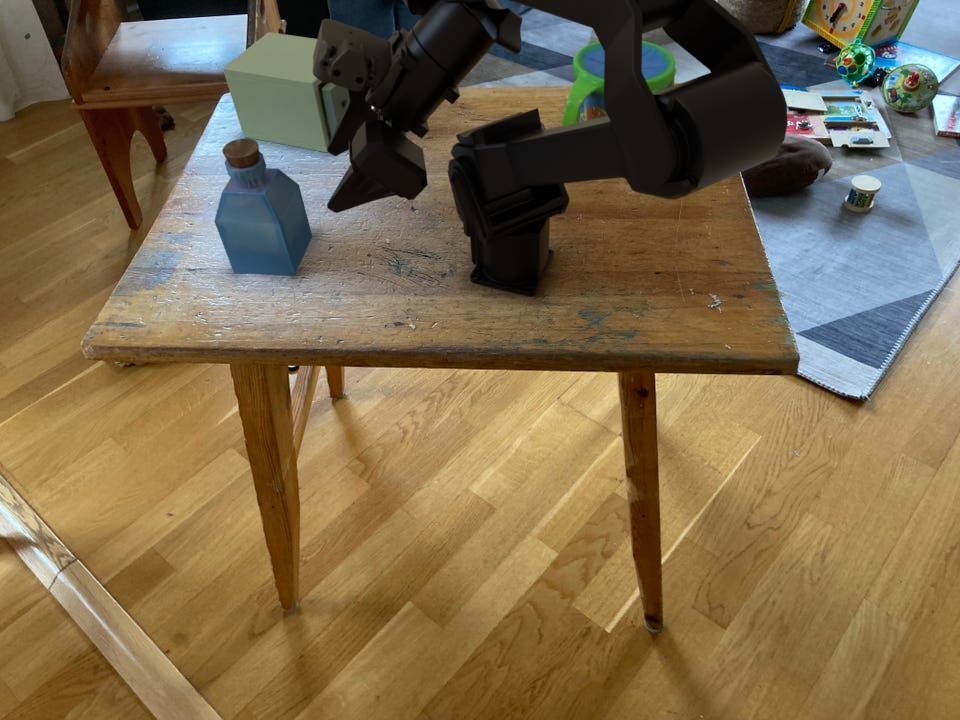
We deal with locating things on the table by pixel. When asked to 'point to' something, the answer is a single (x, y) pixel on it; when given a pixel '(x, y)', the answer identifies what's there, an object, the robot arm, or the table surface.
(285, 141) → the cabinet
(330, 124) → the drawer
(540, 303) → the table surface
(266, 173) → the perfume bottle
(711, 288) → the table surface
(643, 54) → the snack cup
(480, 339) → the table surface
